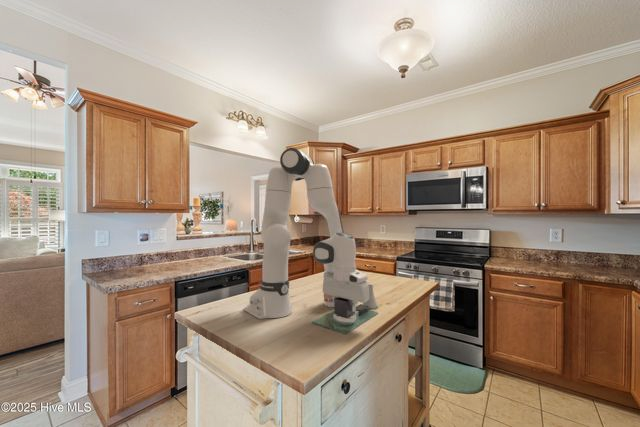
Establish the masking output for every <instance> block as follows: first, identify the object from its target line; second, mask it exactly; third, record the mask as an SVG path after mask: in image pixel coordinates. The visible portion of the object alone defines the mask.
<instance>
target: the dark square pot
mask: <svg viewBox="0 0 640 427" xmlns="http://www.w3.org/2000/svg"><path fill="white" fill-rule="evenodd" d="M353 304H354V303H352V300H348V299H344V298H340V297H338V298H335V299H334V307H333V311H334V314H335V315H339V316H342V317H346V318H348V317H350V316H351V315H353V314H355V311H354V312H352V311H350V307H351V306H353Z"/></svg>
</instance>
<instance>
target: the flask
mask: <svg viewBox="0 0 640 427" xmlns="http://www.w3.org/2000/svg"><path fill="white" fill-rule="evenodd" d="M368 285H369V300H368V301H367V302H365V303H362V305H367V306H368V310H372V309H375V310H376V309H377V308H378V307H379V305H378V302H377V300H376V297H375V294H374V285H373V284H372V283H371V284H370V283H368Z"/></svg>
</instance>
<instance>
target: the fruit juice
mask: <svg viewBox="0 0 640 427" xmlns="http://www.w3.org/2000/svg"><path fill="white" fill-rule="evenodd" d="M323 268H324V273H323V275H324V274H325V273H326V272H327V271H329V272H334V265H333V263H328V264H323ZM337 298H338V297H337ZM323 305H324V306H325V307H328V308H334V301H333V299H332V296H331V295H327V294H324V293H323Z"/></svg>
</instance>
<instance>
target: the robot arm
mask: <svg viewBox="0 0 640 427" xmlns="http://www.w3.org/2000/svg"><path fill="white" fill-rule="evenodd" d="M279 162H280V165H279V166H273V167H272V168H271V169H270V170H269V172H268V176H267V182H266V186H265V197H264V198H265V200H264V209H263V215H262V223H261V232H260V239H261V240H262V242H263V251H262V264H261V266H262V269H261V270H262V275H261V276H262V280H259V281H258V284H259V288H258V289H257V290H256V291H255V292H253V293H252V294H251V295H250V297H249V304H247V305H246V306H244V307H243V310H244V311H245V312H247V313H248V314H250V315H252V316H253V317H255V318H257V319H258V320H259V319H260V320H262V319H279V318H283V317H287V316H289V315H291V314H292V313H293V312H292V311H293V310H292V307H293V306H292V304H291V297H290V290H289V288H290V279H289V256H290V247H291V239H292V238H291V237H292V236H291V232H290V229H289V228H288V227H287V225H288V224H287V223H288V218H289V214H290V211H291V199H292V186H293V182H294V181H295V182H298V181H301V180H304V181H305V185H306V186H305V187H306V196H307V201H308V204H309V206H310V207H311V209H313V210H314V211H316V212H317V213H319V214H320V215H322V216H323V217H324V219H325V220H326V222H327V227H328V231H329V238H327V239H324V240H321V241H318V242H316V243H315V244H314V245H313V249H312V256H313V258H314V260H315V261H316V262H317V263H318V264H320V265H321V264H322V265H324V264H328V263H333V265H334V272H329V271H327V272H326V273H325V274H324V273H323V281H322V282H323V283H322V293H323V295H324V294H327V295H331V296H332V299H333V301H334V299H335V298H337V297H340V298H344V299H348V300H352V303H354V304H353V306H351V307H350V311H352V312H354V311H355V310H356V306H358V305H359V304H358V303H360V304H361V303H362V304H363V303H365V302H367V301H368V300H369V285H368V284H369V283H368V281H367V280H368V279H369V277H368V275H367V274H366V273H364V272H362V271H360V270H359V269H357V265H356V256H357V250H356V248H357V246H356V239H355V237H354V236H353V235H352V234H350V233H347V232H344V228H343V222H342V218H341V214H340V213H341V212H340V209H339V207H338V205H337V202H336V199H335V195H334V193H335V192H334V188H333V180H332V177H331V173H330V170H329V168H328V166H327V165H325V164H322V163H314V160H313V159H312V157H310V156H309V155H308V153H306V152H305V151H302V150H301V149H300V148H296V147H289V148H286V149H285V150H284V151H283V152H282V153H281V155H280V159H279Z"/></svg>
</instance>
